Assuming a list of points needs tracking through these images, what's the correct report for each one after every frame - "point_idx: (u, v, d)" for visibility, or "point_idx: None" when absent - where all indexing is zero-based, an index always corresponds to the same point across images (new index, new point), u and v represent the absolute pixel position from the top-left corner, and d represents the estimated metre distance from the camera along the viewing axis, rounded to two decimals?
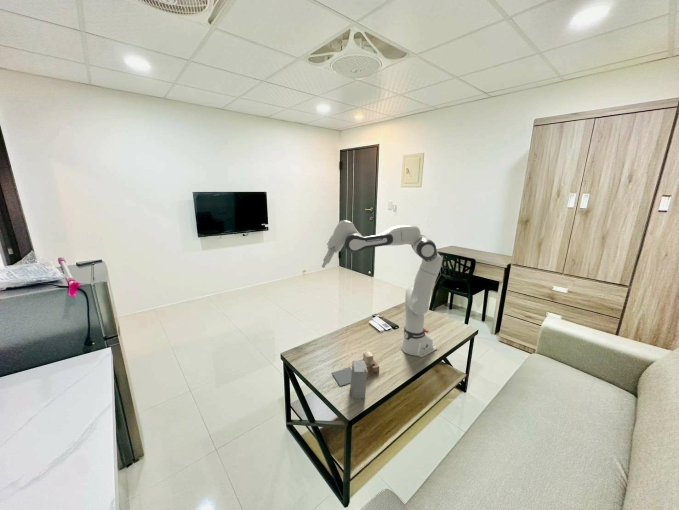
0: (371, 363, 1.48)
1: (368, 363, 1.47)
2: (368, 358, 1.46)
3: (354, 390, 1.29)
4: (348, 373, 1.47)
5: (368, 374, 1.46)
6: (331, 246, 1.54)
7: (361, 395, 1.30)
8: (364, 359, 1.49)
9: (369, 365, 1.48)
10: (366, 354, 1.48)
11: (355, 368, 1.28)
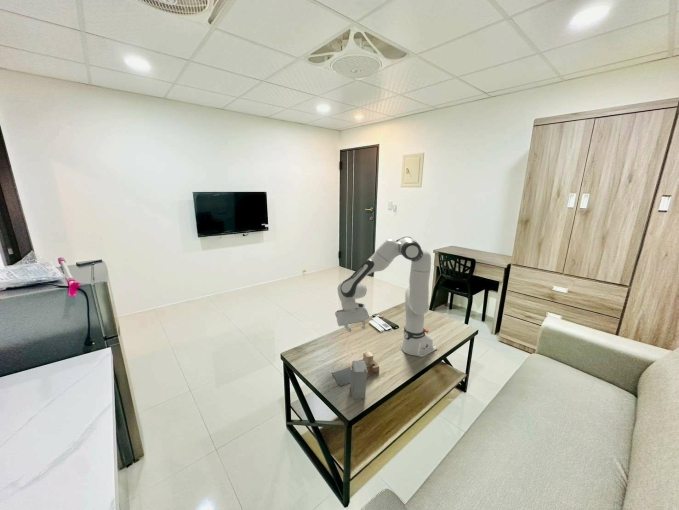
0: (371, 363, 1.48)
1: (368, 363, 1.47)
2: (368, 358, 1.46)
3: (354, 390, 1.29)
4: (348, 373, 1.47)
5: (368, 374, 1.46)
6: None
7: (361, 395, 1.30)
8: (364, 359, 1.49)
9: (369, 365, 1.48)
10: (366, 354, 1.48)
11: (355, 368, 1.28)
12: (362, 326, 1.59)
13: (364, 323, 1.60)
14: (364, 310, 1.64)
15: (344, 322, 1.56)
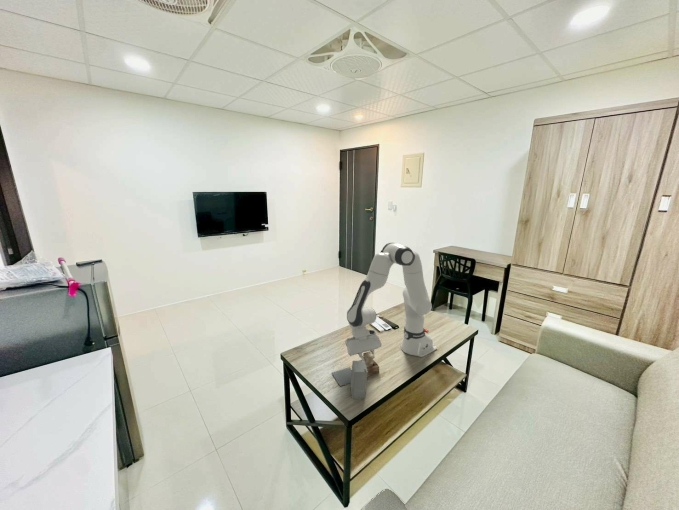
0: (371, 363, 1.48)
1: (368, 363, 1.47)
2: (368, 358, 1.46)
3: (354, 390, 1.29)
4: (348, 373, 1.47)
5: (368, 374, 1.46)
6: None
7: (361, 395, 1.30)
8: None
9: (369, 365, 1.48)
10: (366, 354, 1.48)
11: (355, 368, 1.28)
12: None
13: (373, 352, 1.51)
14: (376, 337, 1.55)
15: (355, 351, 1.47)
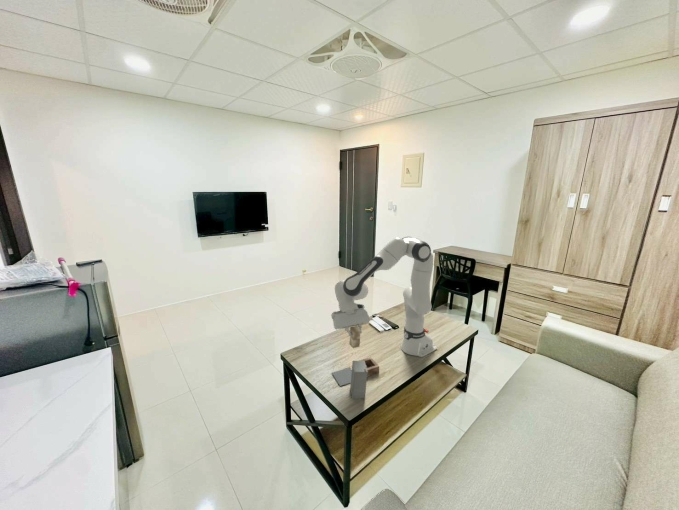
0: (358, 338, 1.41)
1: (355, 337, 1.40)
2: (355, 332, 1.39)
3: (354, 390, 1.29)
4: (348, 373, 1.47)
5: (368, 374, 1.46)
6: None
7: (361, 395, 1.30)
8: None
9: (356, 340, 1.40)
10: (353, 328, 1.40)
11: (355, 368, 1.28)
12: None
13: (360, 327, 1.43)
14: (364, 312, 1.47)
15: (341, 325, 1.39)
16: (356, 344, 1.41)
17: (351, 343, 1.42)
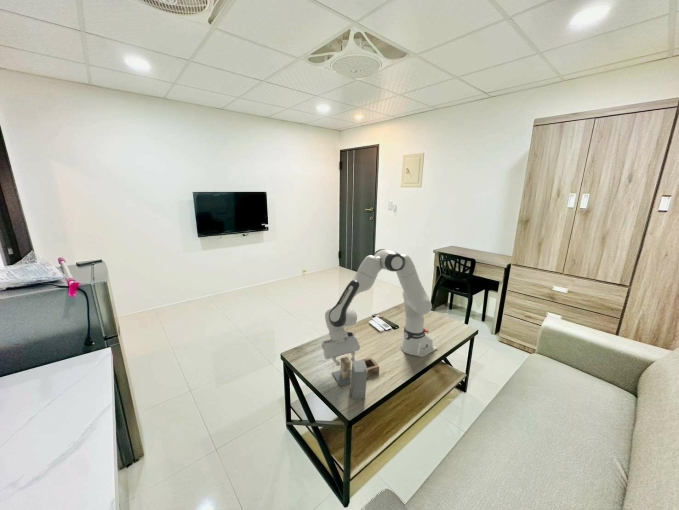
0: (348, 369, 1.42)
1: (345, 369, 1.42)
2: (345, 364, 1.41)
3: (354, 390, 1.29)
4: None
5: (368, 374, 1.46)
6: None
7: (361, 395, 1.30)
8: (341, 365, 1.43)
9: (347, 371, 1.42)
10: (343, 360, 1.42)
11: (355, 368, 1.28)
12: (351, 358, 1.44)
13: (353, 355, 1.45)
14: (354, 339, 1.48)
15: (331, 355, 1.41)
16: (347, 375, 1.43)
17: (342, 374, 1.44)
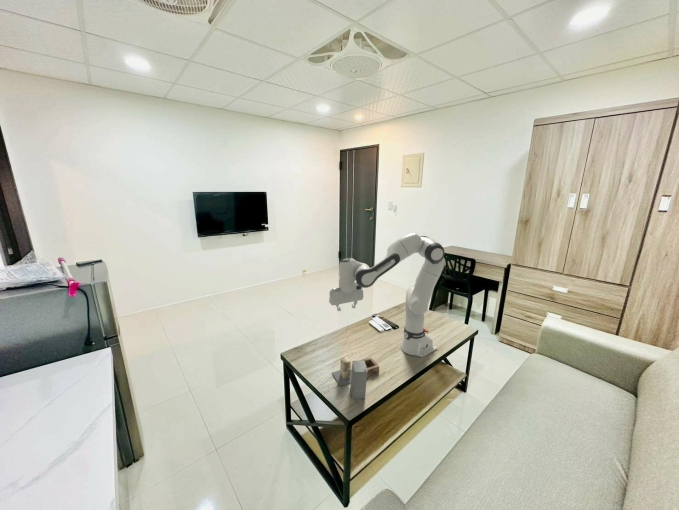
0: (348, 369, 1.42)
1: (345, 369, 1.42)
2: (345, 364, 1.41)
3: (354, 390, 1.29)
4: None
5: (368, 374, 1.46)
6: None
7: (361, 395, 1.30)
8: (341, 365, 1.43)
9: (347, 371, 1.42)
10: (343, 360, 1.42)
11: (355, 368, 1.28)
12: (353, 306, 1.56)
13: (356, 303, 1.55)
14: (360, 291, 1.53)
15: (336, 303, 1.49)
16: (347, 375, 1.43)
17: (342, 374, 1.44)
